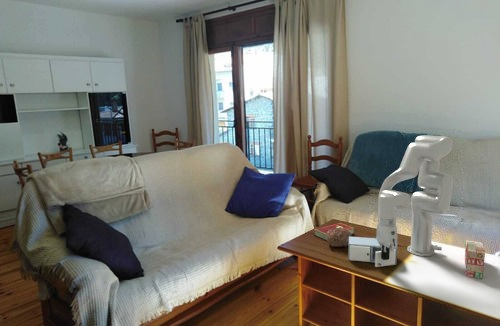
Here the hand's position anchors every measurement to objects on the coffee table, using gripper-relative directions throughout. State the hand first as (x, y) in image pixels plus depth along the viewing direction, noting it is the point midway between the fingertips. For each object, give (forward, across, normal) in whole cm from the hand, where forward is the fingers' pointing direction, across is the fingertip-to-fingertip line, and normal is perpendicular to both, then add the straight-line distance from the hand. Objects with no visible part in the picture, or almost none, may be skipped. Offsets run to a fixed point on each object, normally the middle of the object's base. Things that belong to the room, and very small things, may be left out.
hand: (385, 259), depth 161 cm
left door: (+5, +2, -2) cm, 6 cm away
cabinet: (+5, +13, -1) cm, 14 cm away
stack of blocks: (+6, -10, -39) cm, 41 cm away
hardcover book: (+6, +48, +1) cm, 48 cm away
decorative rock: (+5, +32, +7) cm, 33 cm away
